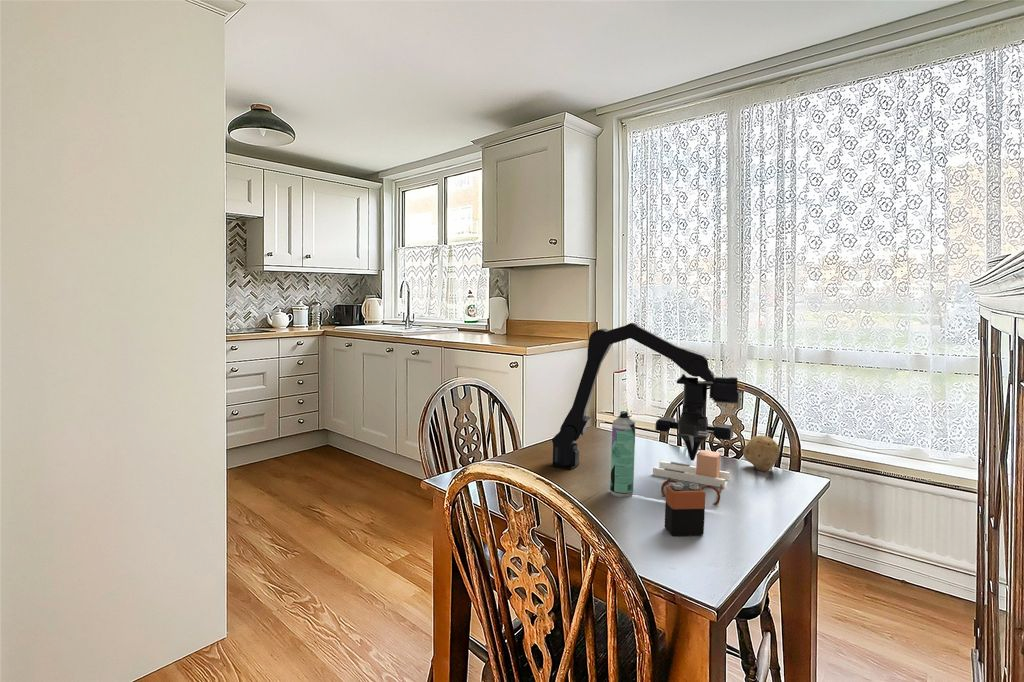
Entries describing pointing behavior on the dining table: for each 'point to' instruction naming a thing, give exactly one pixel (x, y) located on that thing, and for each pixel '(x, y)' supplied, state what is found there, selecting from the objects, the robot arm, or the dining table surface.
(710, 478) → the chute
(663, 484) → the glasses
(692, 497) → the battery
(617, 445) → the spray can
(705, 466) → the block
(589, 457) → the dining table surface
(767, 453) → the natural sponge
